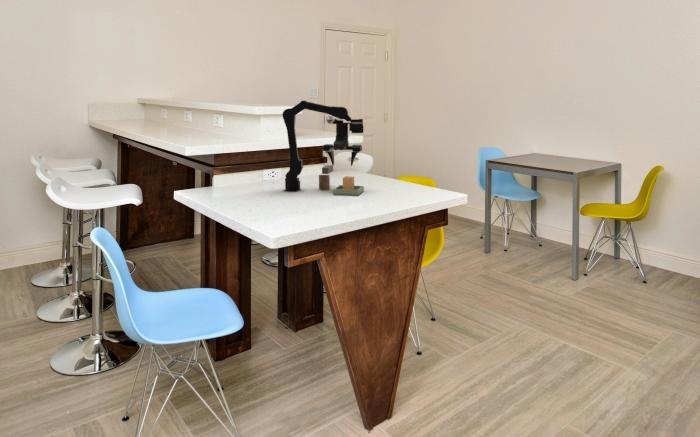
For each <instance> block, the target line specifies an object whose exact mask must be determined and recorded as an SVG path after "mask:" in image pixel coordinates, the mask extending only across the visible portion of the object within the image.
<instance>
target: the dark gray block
mask: <svg viewBox="0 0 700 437" xmlns="http://www.w3.org/2000/svg"><path fill="white" fill-rule="evenodd" d="M333 171H334V165H332V164H327V165H325V166H322V167H321V175H330V173H332V172H333Z"/></svg>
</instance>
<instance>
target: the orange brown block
mask: <svg viewBox="0 0 700 437" xmlns="http://www.w3.org/2000/svg"><path fill="white" fill-rule="evenodd" d="M342 185H343V190H354V186H355V176H344V177H342Z"/></svg>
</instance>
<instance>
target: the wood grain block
mask: <svg viewBox="0 0 700 437" xmlns="http://www.w3.org/2000/svg"><path fill="white" fill-rule="evenodd" d="M330 182H331V181H330V174H319V175H318V190H320V191H330V188H331V185H330V184H331V183H330Z"/></svg>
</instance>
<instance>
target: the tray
mask: <svg viewBox="0 0 700 437" xmlns="http://www.w3.org/2000/svg"><path fill="white" fill-rule="evenodd" d="M362 193H364V185H354V190H343V184H341V185H338V186H336V187H335V188H334V189H333V194H332V195H333V196H352V197H353V196H356V197H359V196H361V194H362Z"/></svg>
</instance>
